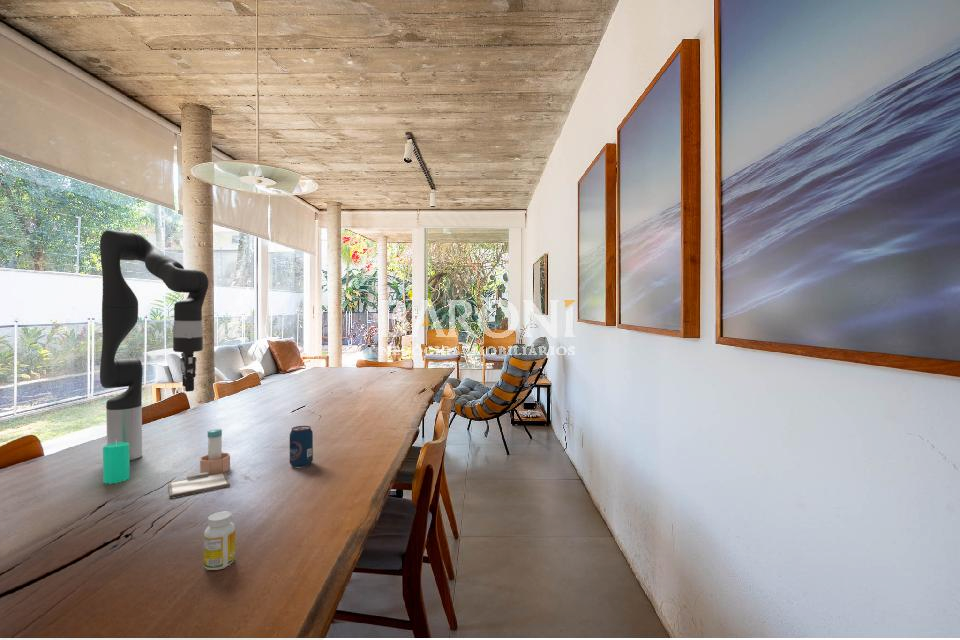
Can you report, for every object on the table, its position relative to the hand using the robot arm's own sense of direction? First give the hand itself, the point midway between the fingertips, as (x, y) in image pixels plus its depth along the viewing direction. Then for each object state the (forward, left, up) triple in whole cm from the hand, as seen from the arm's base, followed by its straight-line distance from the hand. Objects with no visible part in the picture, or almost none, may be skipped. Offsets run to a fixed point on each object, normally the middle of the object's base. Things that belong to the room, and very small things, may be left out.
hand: (188, 388), depth 135 cm
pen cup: (+2, +7, -26) cm, 27 cm away
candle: (-5, -17, -26) cm, 32 cm away
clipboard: (+13, +2, -26) cm, 29 cm away
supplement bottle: (+61, +2, -26) cm, 67 cm away
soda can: (+13, +30, -26) cm, 41 cm away
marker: (+2, +7, -25) cm, 26 cm away
